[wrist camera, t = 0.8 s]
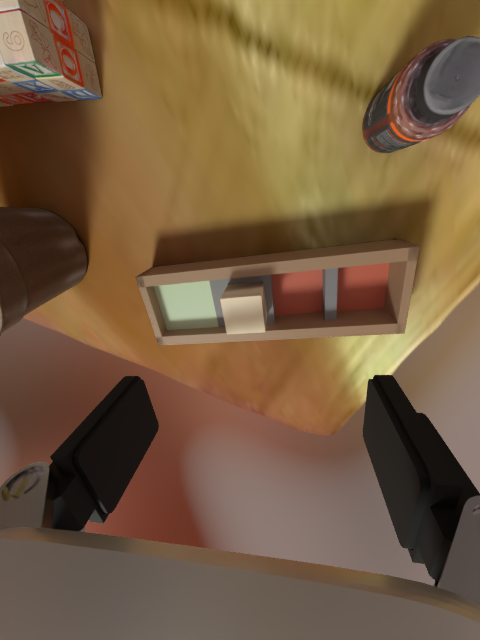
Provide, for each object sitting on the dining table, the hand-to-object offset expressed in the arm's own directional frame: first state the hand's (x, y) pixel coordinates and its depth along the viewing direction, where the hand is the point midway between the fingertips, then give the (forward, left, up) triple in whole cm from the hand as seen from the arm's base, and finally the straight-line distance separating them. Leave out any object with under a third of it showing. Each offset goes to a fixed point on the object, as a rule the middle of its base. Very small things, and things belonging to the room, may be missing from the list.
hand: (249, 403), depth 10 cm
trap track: (+5, -1, -28) cm, 28 cm away
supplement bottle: (-13, +14, -28) cm, 34 cm away
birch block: (+5, -4, -25) cm, 25 cm away
